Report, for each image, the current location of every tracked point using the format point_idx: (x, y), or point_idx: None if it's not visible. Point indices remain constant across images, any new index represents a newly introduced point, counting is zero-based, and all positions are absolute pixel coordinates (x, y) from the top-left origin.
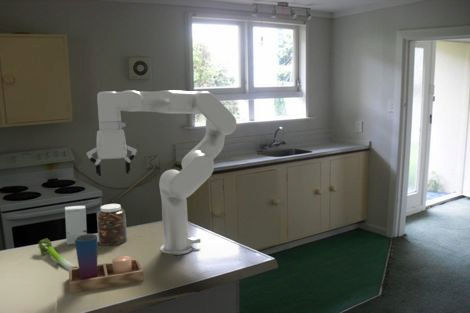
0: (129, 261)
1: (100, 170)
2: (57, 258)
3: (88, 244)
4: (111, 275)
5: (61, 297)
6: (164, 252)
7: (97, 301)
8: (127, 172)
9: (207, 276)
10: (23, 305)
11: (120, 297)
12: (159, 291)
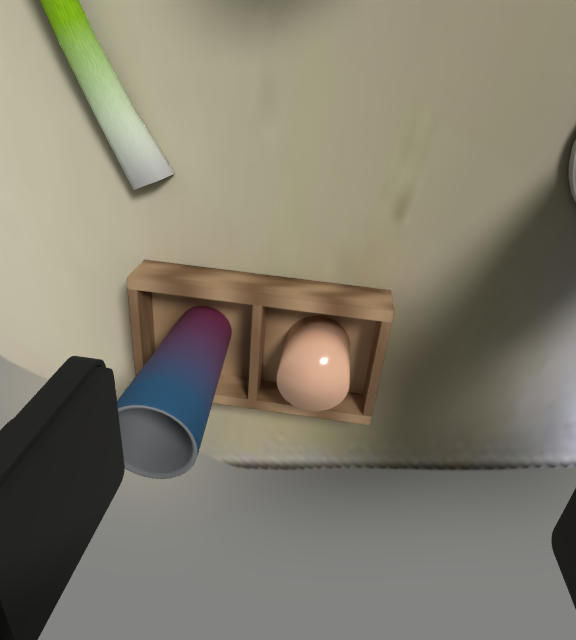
0: (336, 402)
1: (81, 555)
2: (60, 43)
3: (164, 463)
4: (266, 405)
5: (129, 365)
6: (573, 192)
7: (223, 432)
8: (567, 564)
9: (566, 454)
10: (34, 359)
11: (283, 441)
12: (389, 462)
